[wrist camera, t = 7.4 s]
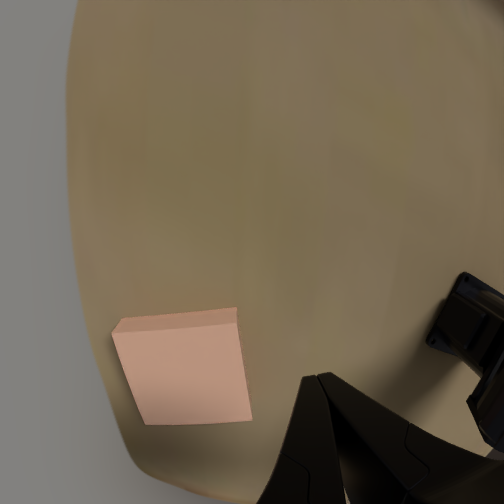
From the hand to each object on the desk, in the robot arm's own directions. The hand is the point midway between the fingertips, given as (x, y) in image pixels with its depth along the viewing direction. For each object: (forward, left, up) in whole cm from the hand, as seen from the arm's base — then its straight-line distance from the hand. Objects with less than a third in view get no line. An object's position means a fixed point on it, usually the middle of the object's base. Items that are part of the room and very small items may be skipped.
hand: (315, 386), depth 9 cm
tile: (-1, +7, -11) cm, 13 cm away
